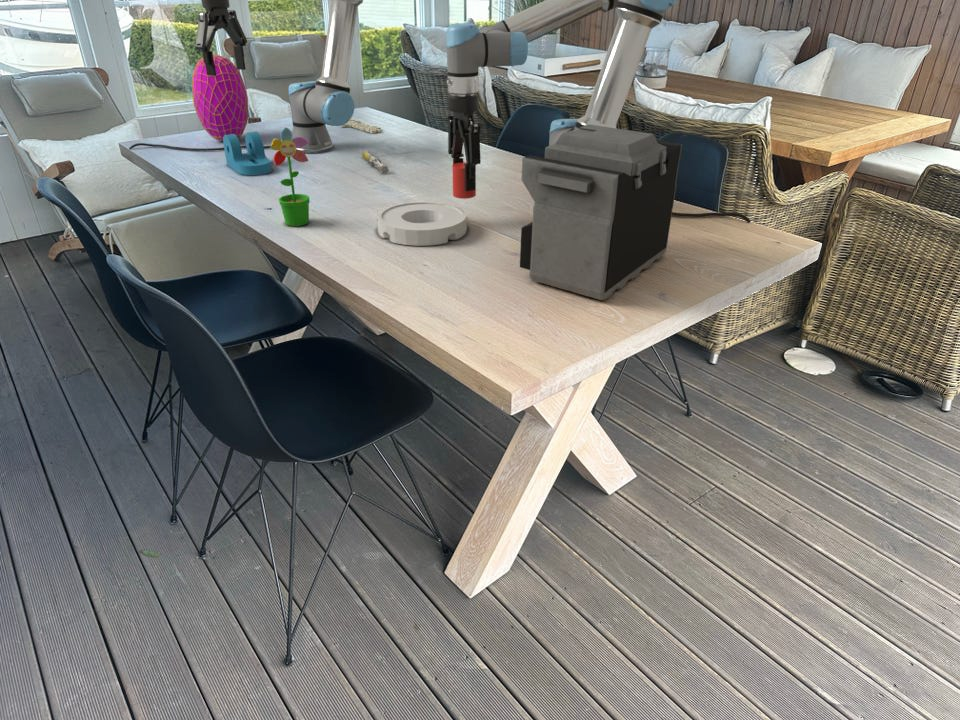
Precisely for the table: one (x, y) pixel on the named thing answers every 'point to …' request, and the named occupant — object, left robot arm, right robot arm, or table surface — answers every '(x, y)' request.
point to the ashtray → (422, 223)
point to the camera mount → (246, 154)
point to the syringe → (375, 161)
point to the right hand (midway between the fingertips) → (464, 186)
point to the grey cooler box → (598, 208)
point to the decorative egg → (220, 98)
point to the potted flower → (291, 178)
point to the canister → (460, 182)
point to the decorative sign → (362, 126)
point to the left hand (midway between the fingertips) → (226, 72)
